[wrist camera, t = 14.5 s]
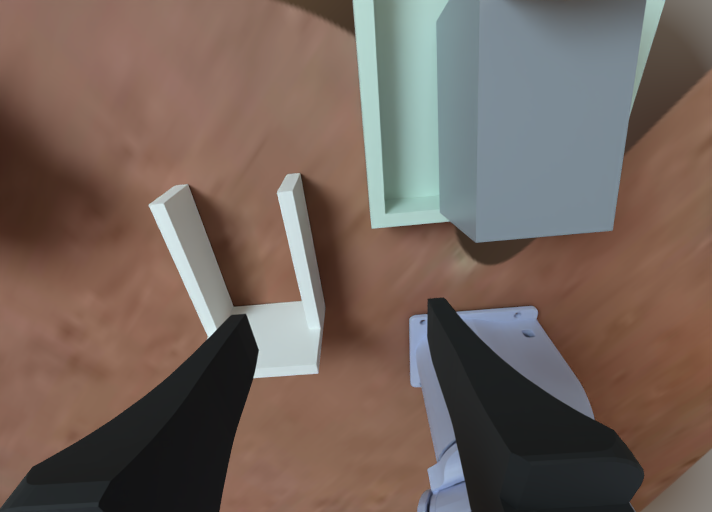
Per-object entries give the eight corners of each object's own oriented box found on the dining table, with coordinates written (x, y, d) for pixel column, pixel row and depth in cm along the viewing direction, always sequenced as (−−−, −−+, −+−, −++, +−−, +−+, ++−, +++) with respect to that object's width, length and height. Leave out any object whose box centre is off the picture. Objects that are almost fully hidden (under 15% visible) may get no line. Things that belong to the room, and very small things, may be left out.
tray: (667, -170, 13) (731, -215, 11) (575, 191, 20) (601, 207, 18) (342, -125, 13) (340, -160, 11) (369, 210, 21) (371, 228, 19)
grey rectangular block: (546, 8, 15) (785, -171, 7) (532, 204, 18) (688, 256, 9) (436, 21, 15) (530, -136, 7) (439, 212, 18) (509, 271, 10)
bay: (300, 173, 20) (281, 215, 14) (325, 307, 25) (318, 373, 20) (174, 185, 20) (112, 230, 15) (226, 315, 25) (194, 382, 20)
